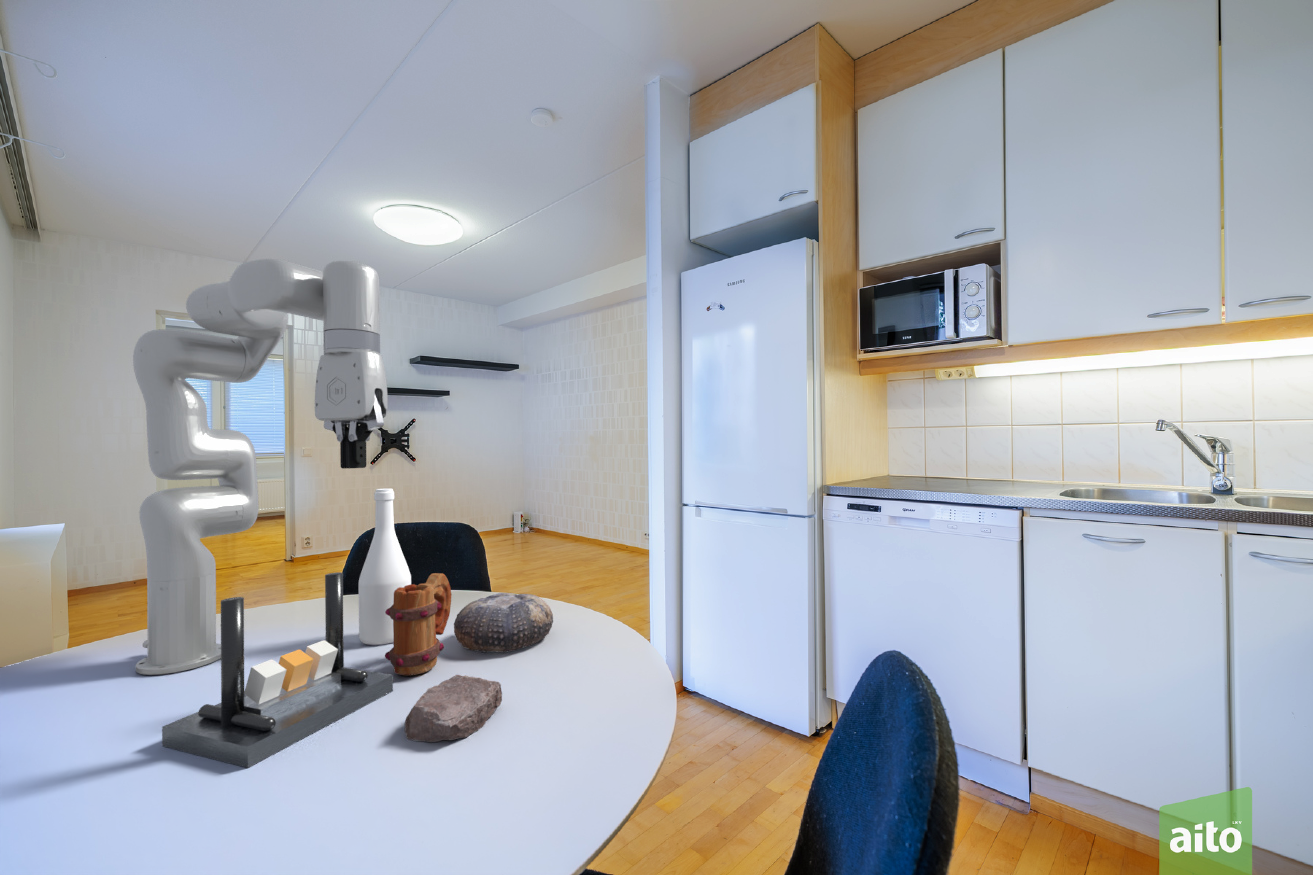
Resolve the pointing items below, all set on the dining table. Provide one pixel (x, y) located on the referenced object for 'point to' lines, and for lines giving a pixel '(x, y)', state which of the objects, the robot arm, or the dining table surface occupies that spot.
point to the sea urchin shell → (503, 622)
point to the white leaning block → (321, 659)
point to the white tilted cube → (265, 681)
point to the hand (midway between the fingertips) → (353, 467)
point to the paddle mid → (295, 669)
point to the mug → (419, 624)
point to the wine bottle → (381, 575)
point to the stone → (453, 709)
